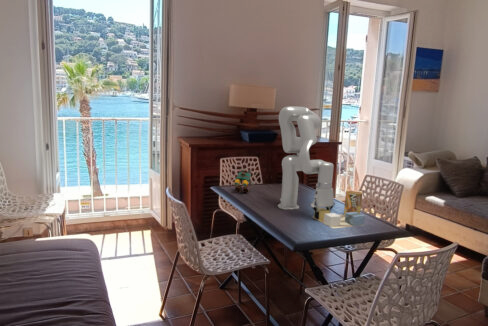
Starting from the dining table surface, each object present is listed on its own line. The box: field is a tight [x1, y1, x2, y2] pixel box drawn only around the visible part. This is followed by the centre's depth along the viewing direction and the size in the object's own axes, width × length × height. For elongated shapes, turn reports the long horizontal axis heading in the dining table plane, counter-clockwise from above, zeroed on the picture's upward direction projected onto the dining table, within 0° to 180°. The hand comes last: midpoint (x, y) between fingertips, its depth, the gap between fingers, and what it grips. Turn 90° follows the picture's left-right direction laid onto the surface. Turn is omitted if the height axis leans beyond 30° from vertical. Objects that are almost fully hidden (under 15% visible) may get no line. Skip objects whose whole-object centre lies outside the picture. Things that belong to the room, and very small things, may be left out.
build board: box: [312, 212, 366, 229], centre depth 206 cm, size 19×20×6 cm
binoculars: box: [233, 169, 255, 194], centre depth 263 cm, size 14×14×15 cm
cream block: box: [322, 212, 341, 227], centre depth 200 cm, size 6×6×5 cm
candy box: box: [343, 189, 363, 216], centre depth 217 cm, size 9×4×15 cm, turn 75°
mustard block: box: [313, 207, 331, 222], centre depth 208 cm, size 6×6×5 cm
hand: (321, 217), depth 208 cm, fingers closed on mustard block, 6 cm apart
